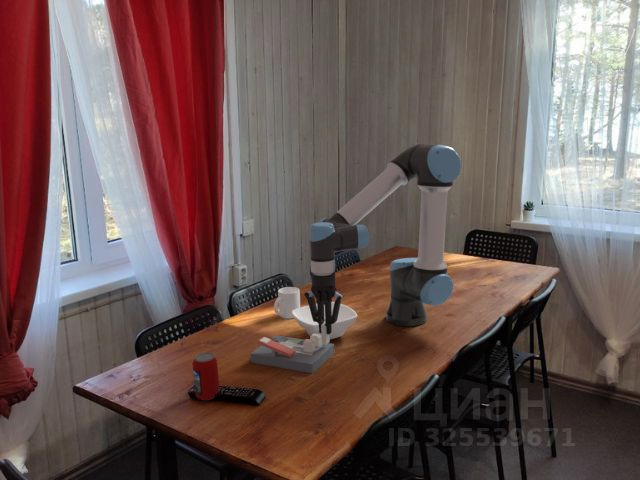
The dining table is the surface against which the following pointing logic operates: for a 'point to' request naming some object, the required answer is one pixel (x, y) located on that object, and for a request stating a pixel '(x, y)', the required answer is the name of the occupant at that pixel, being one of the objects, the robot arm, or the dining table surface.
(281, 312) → the mug
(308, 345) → the slider
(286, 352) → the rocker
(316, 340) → the slider
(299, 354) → the panel
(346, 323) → the bowl
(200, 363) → the beverage can
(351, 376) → the dining table surface
